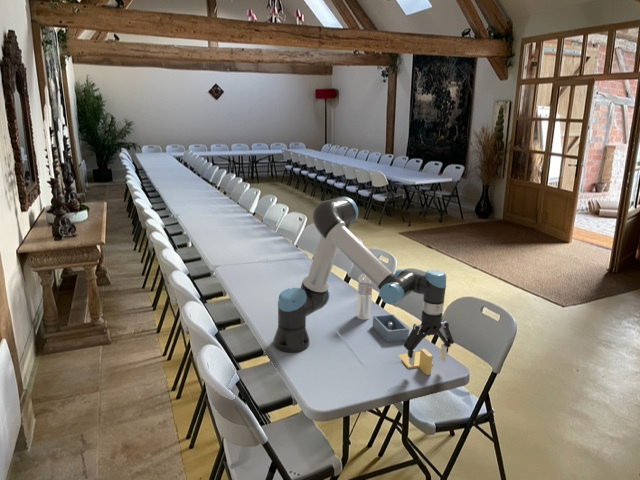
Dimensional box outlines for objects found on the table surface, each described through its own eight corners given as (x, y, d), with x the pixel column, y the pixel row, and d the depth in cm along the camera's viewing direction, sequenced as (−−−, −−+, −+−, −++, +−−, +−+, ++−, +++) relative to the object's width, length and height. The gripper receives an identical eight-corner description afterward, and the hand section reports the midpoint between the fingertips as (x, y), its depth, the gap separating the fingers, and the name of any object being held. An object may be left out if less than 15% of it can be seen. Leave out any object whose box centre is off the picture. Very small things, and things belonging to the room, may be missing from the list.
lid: (416, 376, 179) (417, 357, 177) (390, 348, 200) (391, 331, 198) (441, 373, 182) (443, 354, 180) (412, 345, 203) (414, 328, 201)
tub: (387, 344, 204) (388, 331, 202) (372, 328, 218) (373, 316, 217) (408, 341, 207) (409, 329, 205) (391, 325, 221) (392, 314, 220)
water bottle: (359, 321, 224) (362, 272, 218) (354, 315, 231) (357, 267, 224) (372, 320, 226) (375, 271, 220) (367, 314, 233) (370, 266, 226)
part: (392, 330, 215) (393, 324, 214) (386, 329, 216) (387, 323, 215) (393, 327, 217) (394, 322, 217) (387, 326, 218) (388, 320, 217)
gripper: (407, 318, 169) (402, 371, 174) (467, 312, 176) (460, 363, 182) (397, 310, 176) (393, 361, 181) (455, 304, 183) (450, 353, 189)
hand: (427, 362), depth 182 cm, fingers open, 13 cm apart
